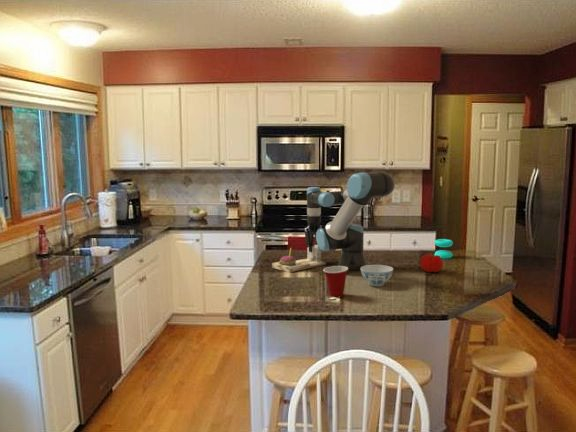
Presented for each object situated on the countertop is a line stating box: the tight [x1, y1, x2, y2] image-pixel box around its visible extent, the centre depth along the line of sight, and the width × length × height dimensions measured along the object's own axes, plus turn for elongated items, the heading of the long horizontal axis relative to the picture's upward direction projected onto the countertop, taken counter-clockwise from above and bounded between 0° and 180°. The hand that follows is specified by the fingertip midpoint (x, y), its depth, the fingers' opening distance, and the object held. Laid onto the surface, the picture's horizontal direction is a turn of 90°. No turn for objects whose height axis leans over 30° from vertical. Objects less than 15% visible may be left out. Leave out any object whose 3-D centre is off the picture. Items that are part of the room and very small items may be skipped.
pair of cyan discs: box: [433, 238, 454, 260], centre depth 285 cm, size 10×10×10 cm
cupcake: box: [279, 247, 297, 266], centre depth 263 cm, size 9×8×12 cm
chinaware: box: [360, 264, 394, 287], centre depth 230 cm, size 15×15×8 cm
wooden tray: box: [271, 246, 327, 273], centre depth 268 cm, size 15×26×8 cm, turn 130°
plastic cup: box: [322, 265, 349, 298], centre depth 214 cm, size 11×11×12 cm
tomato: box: [419, 253, 444, 273], centre depth 252 cm, size 11×11×9 cm
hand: (314, 257), depth 275 cm, fingers closed on wooden tray, 3 cm apart
